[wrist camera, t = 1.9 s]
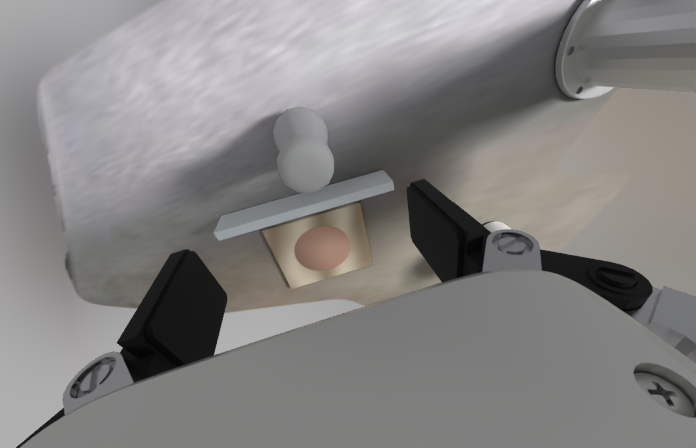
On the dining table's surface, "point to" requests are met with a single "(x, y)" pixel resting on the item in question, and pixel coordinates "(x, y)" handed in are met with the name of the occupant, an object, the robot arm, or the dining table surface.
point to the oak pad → (320, 245)
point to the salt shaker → (303, 150)
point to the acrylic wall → (302, 204)
